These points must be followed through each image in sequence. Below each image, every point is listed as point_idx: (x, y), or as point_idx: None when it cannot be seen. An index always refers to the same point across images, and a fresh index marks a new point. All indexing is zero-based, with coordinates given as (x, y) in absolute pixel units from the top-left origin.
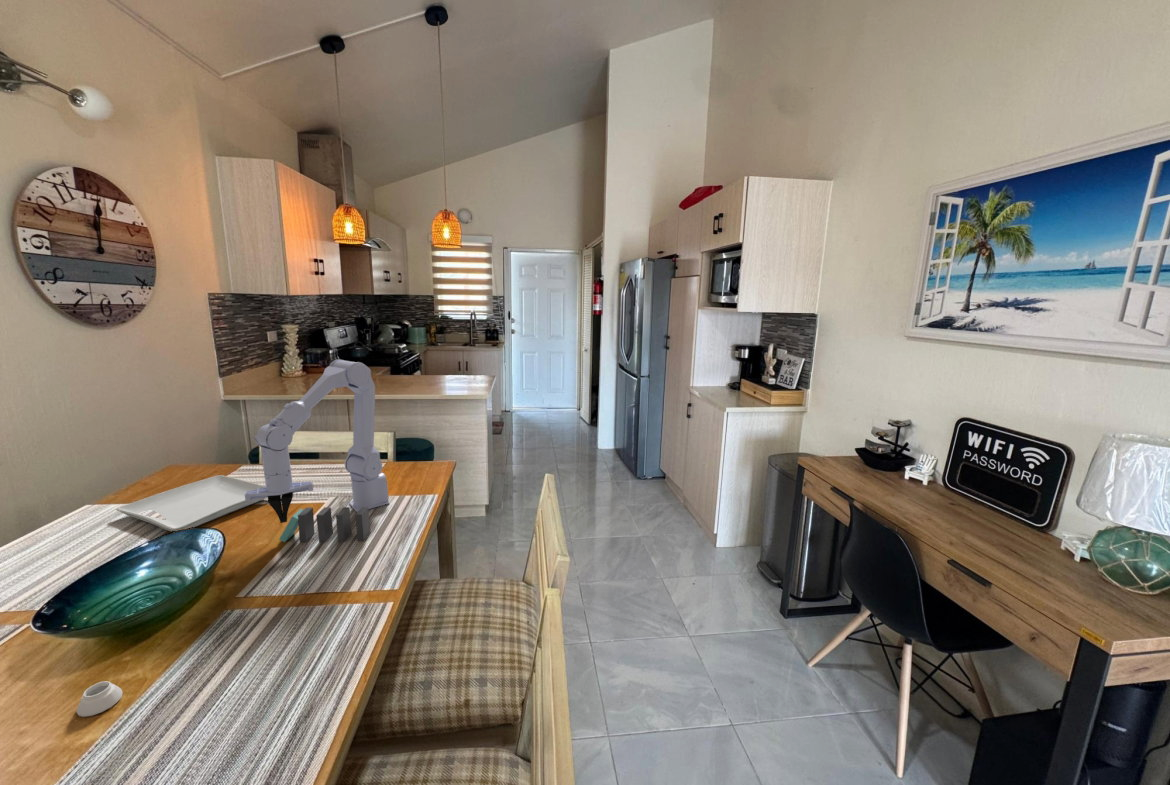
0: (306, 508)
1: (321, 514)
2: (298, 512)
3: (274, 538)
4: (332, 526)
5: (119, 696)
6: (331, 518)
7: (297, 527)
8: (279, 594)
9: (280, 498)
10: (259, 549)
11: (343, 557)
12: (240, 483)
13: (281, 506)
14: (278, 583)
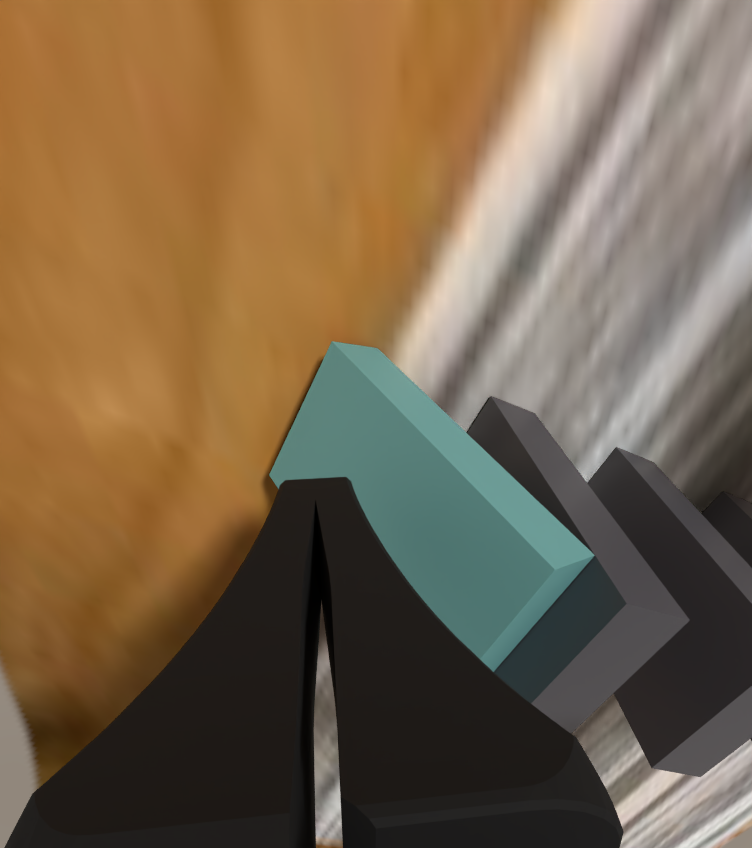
0: (615, 630)
1: (696, 766)
2: (505, 634)
3: (215, 367)
4: (689, 503)
5: None
6: (740, 563)
7: (425, 400)
8: (334, 841)
9: (304, 807)
10: (137, 506)
11: (607, 711)
12: None
13: (304, 631)
14: (322, 797)
